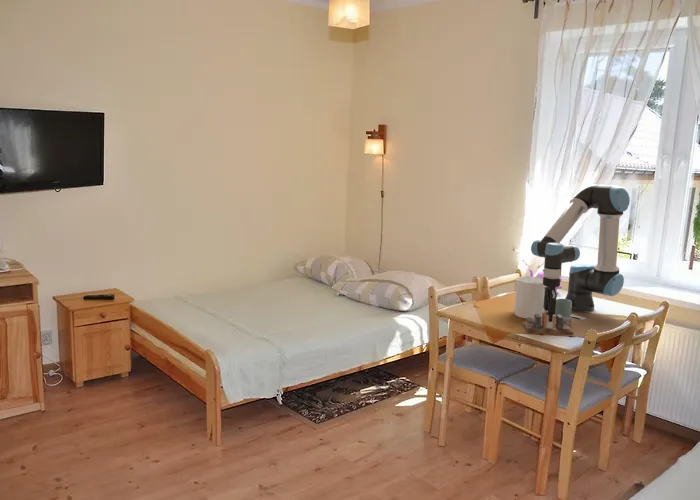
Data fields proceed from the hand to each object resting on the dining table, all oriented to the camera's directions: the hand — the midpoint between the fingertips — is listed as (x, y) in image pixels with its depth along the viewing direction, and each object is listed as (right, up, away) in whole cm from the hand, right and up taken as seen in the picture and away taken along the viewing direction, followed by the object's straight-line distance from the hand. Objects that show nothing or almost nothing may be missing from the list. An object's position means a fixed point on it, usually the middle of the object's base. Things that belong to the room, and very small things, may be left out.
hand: (547, 326), depth 282 cm
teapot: (+20, +11, +69) cm, 73 cm away
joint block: (0, 0, 0) cm, 0 cm away
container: (-2, +2, +24) cm, 24 cm away
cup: (+11, +1, +14) cm, 18 cm away
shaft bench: (0, -2, 0) cm, 2 cm away
